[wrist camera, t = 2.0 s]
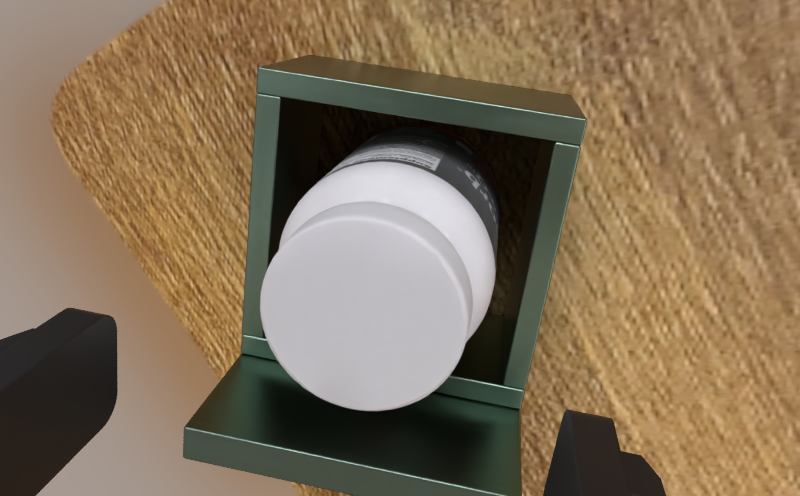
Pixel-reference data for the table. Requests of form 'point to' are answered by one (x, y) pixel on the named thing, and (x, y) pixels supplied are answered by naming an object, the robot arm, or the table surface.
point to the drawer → (484, 351)
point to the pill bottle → (385, 270)
